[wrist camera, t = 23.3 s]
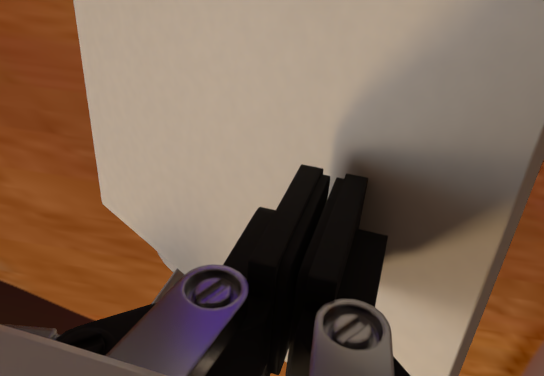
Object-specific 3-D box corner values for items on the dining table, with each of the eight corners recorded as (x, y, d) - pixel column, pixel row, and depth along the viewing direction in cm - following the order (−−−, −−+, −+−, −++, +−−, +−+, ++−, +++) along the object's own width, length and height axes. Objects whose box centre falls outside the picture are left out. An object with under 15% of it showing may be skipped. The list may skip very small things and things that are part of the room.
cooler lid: (633, -67, 7) (618, -66, 7) (428, 453, 15) (413, 472, 14) (76, -126, 18) (55, -127, 17) (116, 198, 25) (101, 203, 24)
